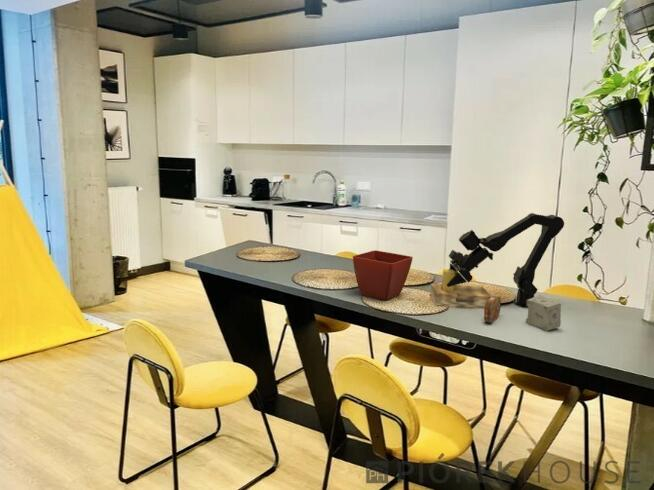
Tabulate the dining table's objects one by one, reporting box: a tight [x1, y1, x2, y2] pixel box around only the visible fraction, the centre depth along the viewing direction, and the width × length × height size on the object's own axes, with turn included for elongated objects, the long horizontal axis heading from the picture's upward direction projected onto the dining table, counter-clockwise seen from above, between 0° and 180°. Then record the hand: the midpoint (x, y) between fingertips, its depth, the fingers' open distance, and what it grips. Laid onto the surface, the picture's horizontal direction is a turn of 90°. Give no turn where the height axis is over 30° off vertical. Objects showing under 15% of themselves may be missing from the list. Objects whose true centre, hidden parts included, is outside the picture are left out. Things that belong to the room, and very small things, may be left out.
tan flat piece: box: [429, 283, 493, 309], centre depth 216 cm, size 22×16×5 cm
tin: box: [483, 295, 502, 324], centre depth 196 cm, size 15×3×8 cm, turn 148°
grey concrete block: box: [525, 295, 562, 332], centre depth 191 cm, size 10×8×10 cm
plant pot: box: [352, 250, 413, 301], centre depth 220 cm, size 19×19×17 cm
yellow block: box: [441, 268, 455, 291], centre depth 216 cm, size 4×4×12 cm
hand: (445, 282), depth 216 cm, fingers open, 9 cm apart
